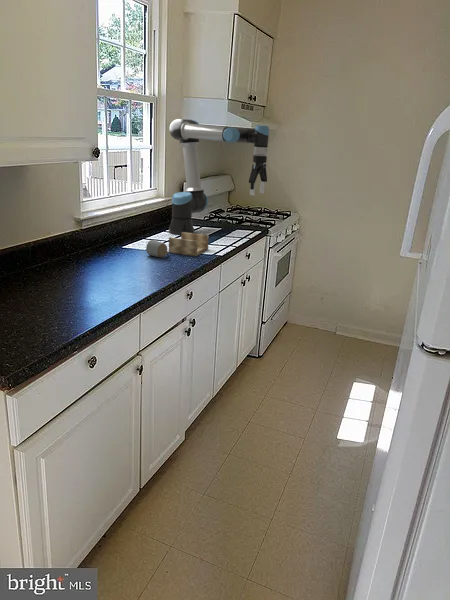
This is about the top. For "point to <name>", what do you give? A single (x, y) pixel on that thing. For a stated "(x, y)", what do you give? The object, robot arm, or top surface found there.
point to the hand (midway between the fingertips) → (257, 194)
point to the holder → (189, 244)
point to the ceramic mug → (156, 248)
